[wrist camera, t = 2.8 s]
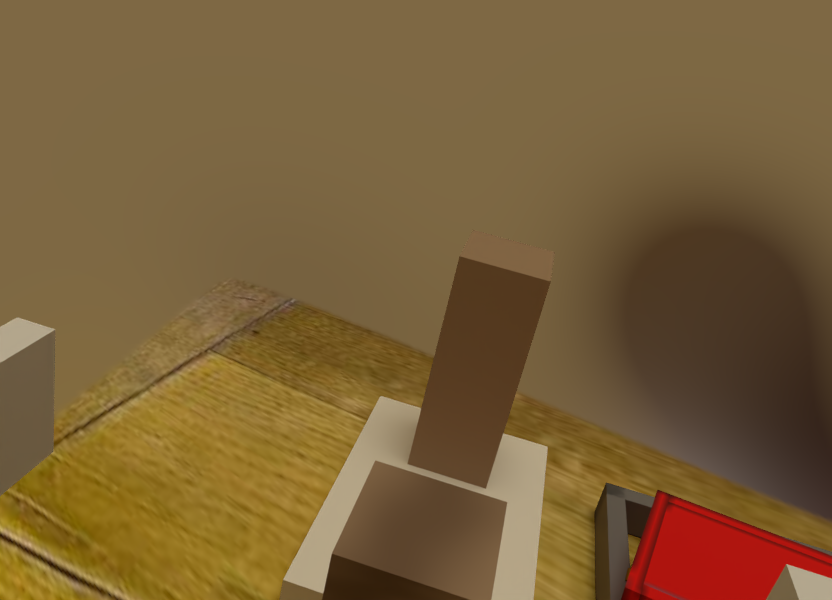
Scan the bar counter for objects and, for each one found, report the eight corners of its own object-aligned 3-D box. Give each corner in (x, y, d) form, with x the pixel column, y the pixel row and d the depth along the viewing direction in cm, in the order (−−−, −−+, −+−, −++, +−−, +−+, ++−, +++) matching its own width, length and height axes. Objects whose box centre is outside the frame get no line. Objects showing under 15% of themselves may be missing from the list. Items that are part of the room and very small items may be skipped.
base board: (535, 481, 51) (612, 260, 44) (510, 706, 35) (626, 411, 28) (372, 430, 52) (422, 208, 45) (275, 624, 36) (328, 323, 29)
